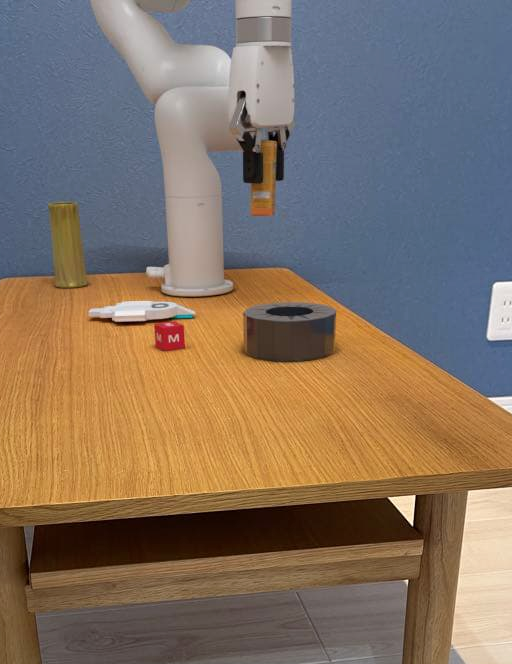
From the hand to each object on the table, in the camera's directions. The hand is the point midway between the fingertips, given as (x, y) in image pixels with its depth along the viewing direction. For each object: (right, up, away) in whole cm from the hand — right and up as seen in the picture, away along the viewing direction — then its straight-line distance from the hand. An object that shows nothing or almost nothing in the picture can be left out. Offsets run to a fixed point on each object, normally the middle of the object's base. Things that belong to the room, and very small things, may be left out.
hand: (263, 180), depth 124 cm
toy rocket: (-18, -19, +7) cm, 27 cm away
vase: (-34, -5, +35) cm, 49 cm away
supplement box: (0, -4, +2) cm, 5 cm away
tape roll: (+3, -28, -13) cm, 31 cm away
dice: (-13, -27, -10) cm, 31 cm away
